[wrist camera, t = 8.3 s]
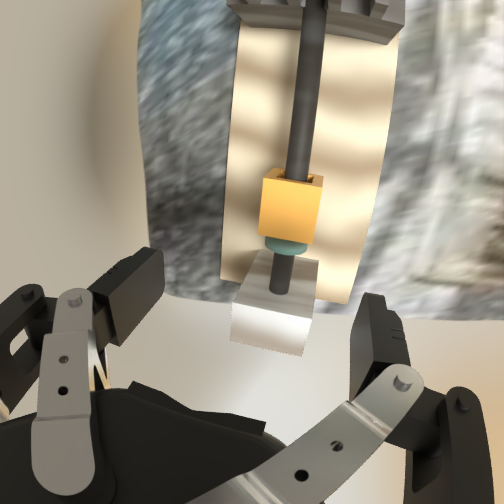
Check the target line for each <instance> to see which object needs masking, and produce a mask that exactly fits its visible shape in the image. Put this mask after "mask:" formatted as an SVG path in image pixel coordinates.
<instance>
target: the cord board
mask: <svg viewBox="0 0 504 504" xmlns="http://www.w3.org/2000/svg"><path fill="white" fill-rule="evenodd" d="M226 5H227V6H229V7H230V8H231V9H232V10H233V11H234V12H235V13H236V14H237V15H238V16H239V17H241V24H240V33H239V42H238V51H237V61H236V71H235V81H234V91H233V102H232V113H231V125H230V137H229V149H228V162H227V176H226V190H225V205H224V220H223V237H222V255H221V274H220V279H224V280H229V281H233V282H238V283H242V285H241V287H240V289H239V291H238V293H237V295H236V297H235V299H234V301H233V304H232V318H231V319H232V320H231V334H230V341H234V342H237V343H242V344H246V345H250V346H254V347H259V348H263V349H268V350H272V351H277V352H282V353H286V354H291V355H296V356H302V353H303V350H304V346H305V343H306V339H307V336H308V332H309V328H310V325H311V321H312V314H313V307H314V300H315V299H320V300H326V301H331V302H336V303H341V304H347V302H348V299H349V296H350V293H351V289H352V286H353V283H354V279H355V276H356V272H357V269H358V265H359V262H360V258H361V254H362V251H363V247H364V243H365V239H366V235H367V231H368V227H369V223H370V219H371V215H372V211H373V206H374V202H375V197H376V193H377V188H378V183H379V178H380V173H381V168H382V163H383V158H384V152H385V147H386V141H387V135H388V128H389V122H390V115H391V108H392V101H393V93H394V84H395V75H396V65H397V53H398V40H399V31H400V30H401V29H402V28H403V27H404V25H405V0H227V3H226ZM273 168H280V169H285V176H284V179H290V180H296V181H302V182H307V178H308V173H310V174H315V175H321V176H324V178H323V188H322V194H321V199H320V205H319V211H318V216H317V222H316V227H315V233H314V238H313V243H312V245H311V244H306V243H300V242H295V241H290V240H285V239H279V238H274V237H269V236H263V235H258V225H259V216H260V207H261V198H262V189H263V179H264V177H265V176H266V175H267V174H268V173H269V172H270V171H271V170H272V169H273Z"/></svg>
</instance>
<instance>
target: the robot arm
mask: <svg viewBox="0 0 504 504" xmlns="http://www.w3.org/2000/svg"><path fill="white" fill-rule="evenodd" d="M164 287H165V278H164V261H163V253H162V251H161V250H158V249H153V248H148V247H143V248H141V249H140V250H139V251H138V252H136V253H135V254H134V255H133V256H129V257H127V258H124V259H122V260H120V261H119V262H118V263H116V264H115V265H114V266H113V268H110V269H109V270H108V271H107V273H105V274H103V276H101V277H100V278H99V279H98V280H96V281H95V282H94V283H93V284H92V285H91V286H89V288H87V289H83V288H74V289H70V290H68V291H65V292H64V293H62V294H61V295H60V296H59V298H50V297H45V295H44V292H43V289H42V287H41V286H40V285H38V284H28V285H25V286H22V287H20V288H19V289H17V290H16V291H15V292H14V293H13V294H11V295H10V296H9V297H8V298H7V299H6V300H5V301H3V302H2V303H1V304H0V504H325V503H324V500H325V499H327V498H328V497H329V496H330V495H331V494H333V493H334V492H335V491H336V490H337V489H338V488H339V487H340V486H341V485H342V484H343V483H344V482H345V481H346V480H347V479H348V478H350V476H352V474H354V473H355V472H356V471H357V470H358V468H360V466H362V464H363V463H364V462H365V461H366V460H367V459H368V458H369V457H370V456H371V455H372V454H373V453H374V452H375V451H376V450H377V449H378V447H379V446H380V445H381V444H382V443H383V442H384V441H385V442H387V443H390V444H393V445H395V446H398V447H401V448H404V449H406V467H405V487H404V488H405V489H404V501H403V504H494V489H493V477H492V467H491V459H490V452H489V445H488V440H487V433H486V428H485V423H484V418H483V413H482V408H481V404H480V401H479V399H478V397H477V396H476V395H475V394H474V393H473V392H472V391H471V390H469V389H467V388H464V387H453V388H452V389H450V390H449V391H448V392H447V394H446V395H444V394H441V393H439V392H436V391H433V390H430V389H428V388H426V387H425V386H424V382H423V379H422V377H421V375H420V374H419V373H418V372H417V371H416V370H415V369H413V368H412V367H411V364H410V359H409V354H408V349H407V344H406V340H405V334H404V332H403V326H402V321H401V319H400V318H399V317H398V315H397V314H396V313H395V311H392V310H387V306H386V301H385V297H384V296H383V295H378V294H372V293H367V292H365V293H364V295H363V297H362V300H361V303H360V306H359V309H358V312H357V315H356V317H355V320H354V323H353V326H352V330H351V335H350V393H349V401H345V402H343V403H342V404H341V405H340V406H338V407H337V408H336V409H335V410H334V411H333V412H331V413H330V414H329V415H328V416H326V417H325V418H324V419H323V420H322V421H320V422H319V423H318V424H317V425H315V426H314V427H313V428H311V429H310V430H309V431H308V432H307V433H305V434H304V435H302V436H301V437H300V438H298V439H297V440H296V441H295V442H293V443H292V444H290V445H289V446H286V445H285V444H284V443H282V442H281V441H280V440H278V439H277V438H275V437H274V436H272V435H270V434H268V433H266V432H264V428H265V424H266V422H264V421H259V420H255V419H251V418H247V417H243V416H239V415H235V414H231V413H217V412H203V411H195V410H191V409H189V408H187V407H185V406H184V405H182V404H180V403H179V402H177V401H176V400H174V399H173V398H171V397H169V396H168V395H166V394H165V393H163V392H161V391H158V390H156V389H153V388H150V387H148V386H145V385H143V384H140V383H137V382H135V381H133V382H132V383H131V385H130V386H129V388H128V389H122V388H113V389H112V388H111V385H110V377H109V368H108V358H107V350H106V345H107V344H108V343H112V344H114V345H117V346H119V347H120V346H121V345H122V343H123V342H124V341H125V340H126V339H127V337H128V336H129V335H130V334H131V332H132V331H133V330H134V329H135V327H136V326H137V325H138V324H139V323H140V321H141V320H142V319H143V318H144V317H145V315H146V314H147V313H148V312H149V311H150V309H151V308H152V307H153V306H154V304H155V303H156V302H157V301H158V300H159V299H160V297H161V296H162V294H163V291H164ZM23 328H24V329H25V332H26V334H27V336H28V340H27V341H26V342H25V343H24V344H23V345H22V346H21V347H20V348H19V349H18V351H16V353H15V354H14V355H13V356H12V355H11V353H10V343H11V341H12V340H13V339H14V338H15V337H16V336H17V335H18V333H19V332H21V331H22V330H23ZM38 377H39V386H38V404H37V412H35V413H32V414H28V415H25V416H22V417H18V418H15V419H12V420H9V415H10V413H11V412H12V411H13V409H14V408H15V407H16V405H17V404H18V403H19V401H20V400H21V399H22V398H23V396H24V395H25V394H26V392H27V391H28V389H29V388H30V387H31V386H32V384H33V383H34V382H35V381H36V380H37V378H38Z"/></svg>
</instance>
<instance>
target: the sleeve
mask: <svg viewBox="0 0 504 504" xmlns="http://www.w3.org/2000/svg"><path fill="white" fill-rule="evenodd" d="M284 176H285V169H280V168H273V169H272V170H271V171H270V172H269V173H268V174H267V175H266V176H265V177H264V179H263V189H262V198H261V207H260V216H259V225H258V235H263V236H269V237H274V238H279V239H285V240H290V241H295V242H300V243H306V244H311V245H312V243H313V238H314V233H315V227H316V222H317V216H318V211H319V205H320V199H321V194H322V188H323V178H324V176H321V175H315V174H310V173H308V178H307V182H302V181H296V180H290V179H284Z"/></svg>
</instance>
